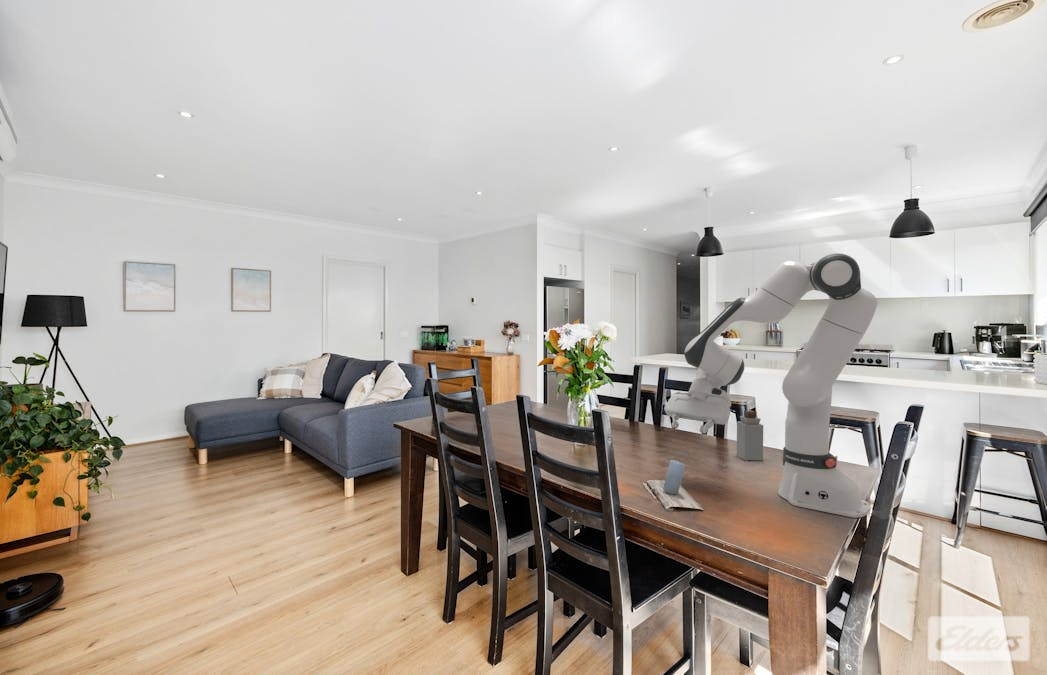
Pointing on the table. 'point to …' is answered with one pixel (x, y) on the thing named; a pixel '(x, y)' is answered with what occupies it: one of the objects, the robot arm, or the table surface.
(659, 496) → the newspaper
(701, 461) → the table surface
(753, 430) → the perfume bottle
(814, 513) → the table surface
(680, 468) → the blue peg
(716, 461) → the table surface
